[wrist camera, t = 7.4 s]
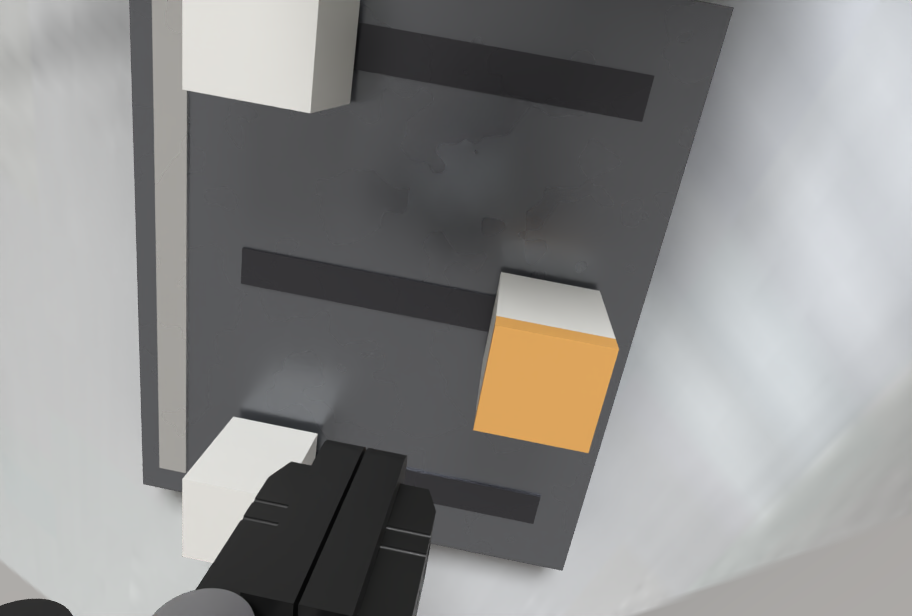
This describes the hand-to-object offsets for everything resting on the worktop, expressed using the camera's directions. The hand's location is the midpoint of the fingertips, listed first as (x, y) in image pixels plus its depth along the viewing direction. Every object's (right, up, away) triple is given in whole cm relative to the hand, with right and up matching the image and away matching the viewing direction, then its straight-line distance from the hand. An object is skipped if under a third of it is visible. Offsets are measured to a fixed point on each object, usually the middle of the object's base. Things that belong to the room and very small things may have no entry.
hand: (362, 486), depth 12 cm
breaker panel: (0, +4, +10) cm, 11 cm away
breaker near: (-2, +11, +6) cm, 12 cm away
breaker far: (-5, -2, +11) cm, 12 cm away
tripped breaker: (+4, +3, +8) cm, 10 cm away
